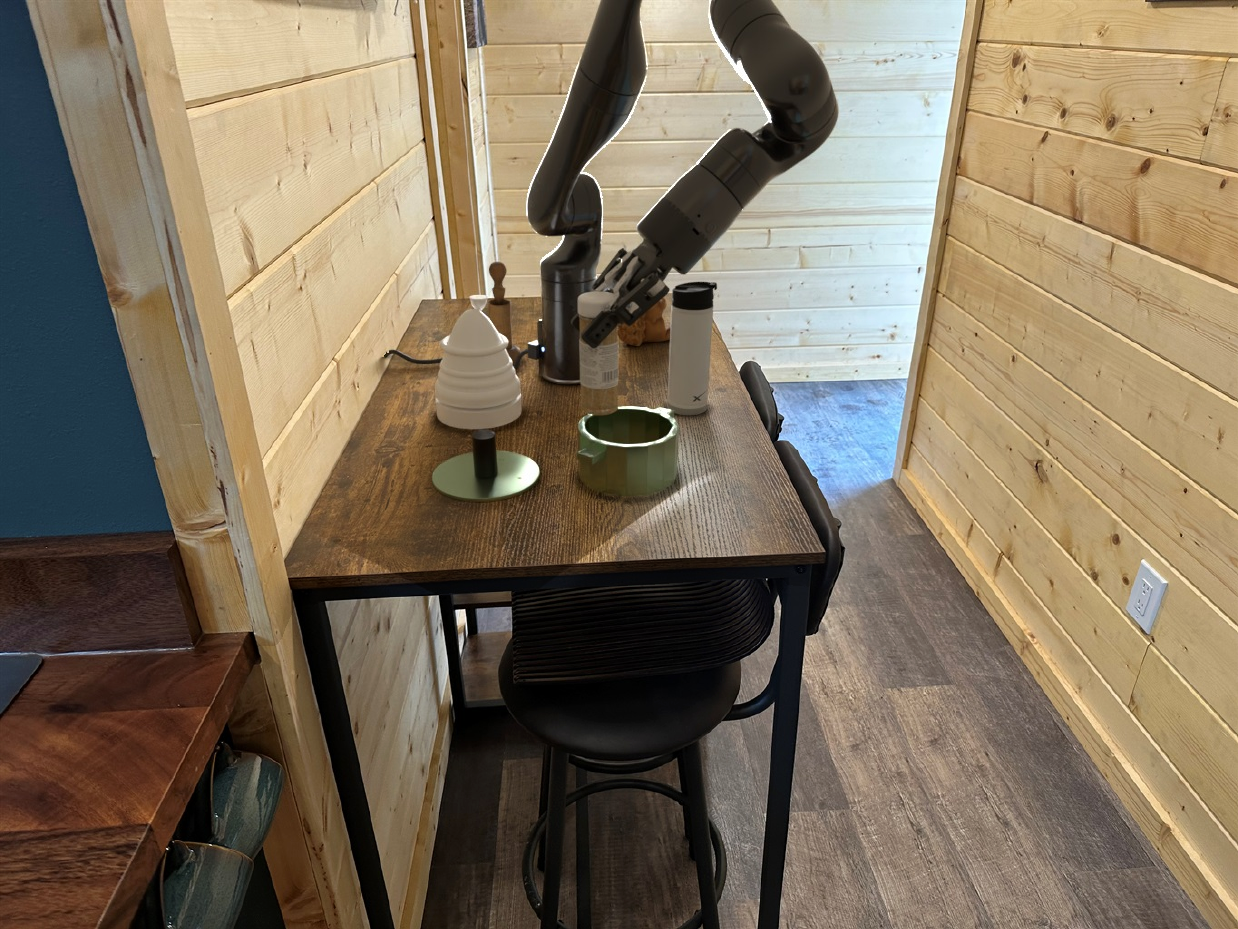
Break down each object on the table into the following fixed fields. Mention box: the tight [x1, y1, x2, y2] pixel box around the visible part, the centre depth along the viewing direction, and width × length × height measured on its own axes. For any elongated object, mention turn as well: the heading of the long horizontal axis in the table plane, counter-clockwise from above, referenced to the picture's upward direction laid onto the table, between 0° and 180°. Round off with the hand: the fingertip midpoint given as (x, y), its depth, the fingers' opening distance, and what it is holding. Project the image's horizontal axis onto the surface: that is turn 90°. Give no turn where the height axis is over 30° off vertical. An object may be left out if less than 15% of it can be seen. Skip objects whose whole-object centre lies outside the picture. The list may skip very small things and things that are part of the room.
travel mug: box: [666, 281, 718, 416], centre depth 126 cm, size 6×7×20 cm
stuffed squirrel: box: [617, 297, 671, 347], centre depth 159 cm, size 10×14×13 cm
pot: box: [576, 405, 680, 498], centre depth 108 cm, size 13×18×7 cm
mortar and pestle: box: [487, 261, 522, 365], centre depth 145 cm, size 7×6×18 cm
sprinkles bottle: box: [578, 292, 620, 415], centre depth 93 cm, size 5×5×13 cm
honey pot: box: [434, 294, 523, 430], centre depth 123 cm, size 13×13×18 cm
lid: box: [431, 429, 541, 503], centre depth 106 cm, size 14×14×7 cm
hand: (582, 335), depth 92 cm, fingers closed on sprinkles bottle, 4 cm apart
